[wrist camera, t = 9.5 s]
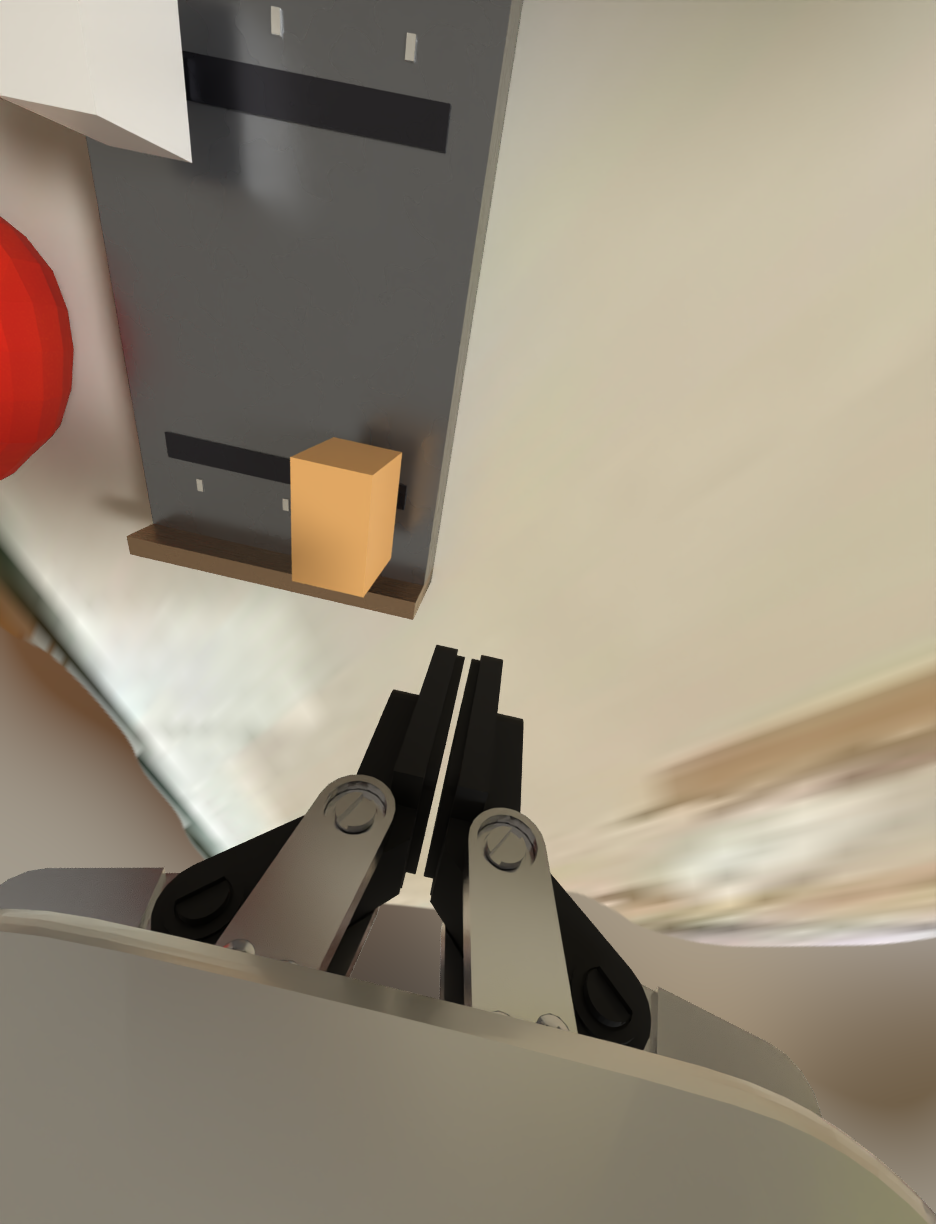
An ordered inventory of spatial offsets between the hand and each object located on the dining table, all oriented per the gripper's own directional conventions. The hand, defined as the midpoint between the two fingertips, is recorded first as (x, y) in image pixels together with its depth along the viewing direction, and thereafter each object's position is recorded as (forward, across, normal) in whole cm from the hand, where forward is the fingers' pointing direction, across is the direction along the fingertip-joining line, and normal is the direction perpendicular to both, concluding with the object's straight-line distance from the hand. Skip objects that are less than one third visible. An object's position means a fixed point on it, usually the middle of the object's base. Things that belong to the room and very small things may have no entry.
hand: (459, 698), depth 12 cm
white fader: (+12, +14, -14) cm, 23 cm away
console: (+15, +11, -7) cm, 20 cm away
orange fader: (+13, +6, -1) cm, 14 cm away
